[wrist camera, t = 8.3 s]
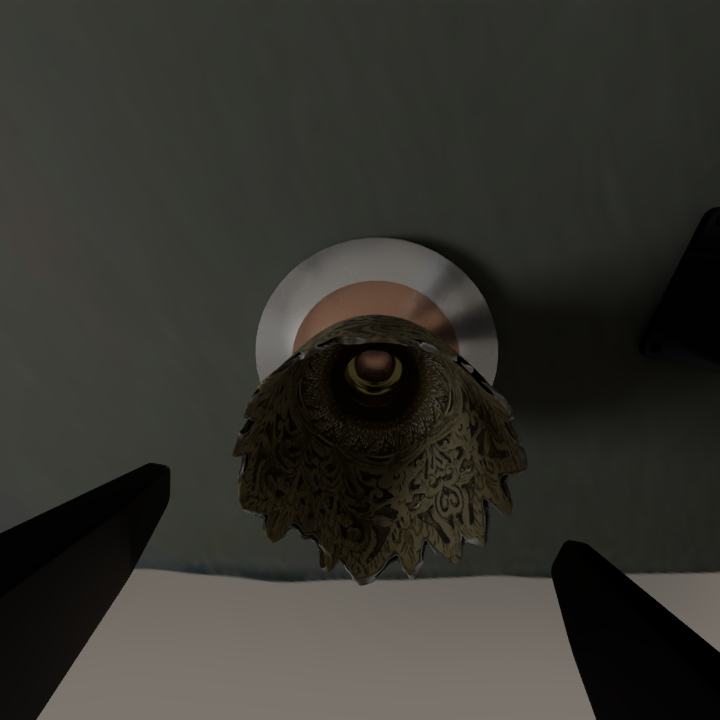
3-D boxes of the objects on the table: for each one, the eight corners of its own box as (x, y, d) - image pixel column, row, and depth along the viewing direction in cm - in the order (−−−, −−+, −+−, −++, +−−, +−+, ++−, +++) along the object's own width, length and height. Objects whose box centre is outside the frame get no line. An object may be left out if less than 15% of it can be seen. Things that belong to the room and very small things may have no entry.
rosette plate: (524, 265, 16) (536, 269, 15) (452, 468, 20) (457, 483, 19) (277, 212, 16) (268, 211, 15) (252, 429, 20) (244, 443, 19)
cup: (260, 369, 17) (173, 485, 10) (366, 243, 15) (359, 268, 8) (380, 460, 19) (385, 622, 11) (492, 359, 17) (589, 475, 9)
